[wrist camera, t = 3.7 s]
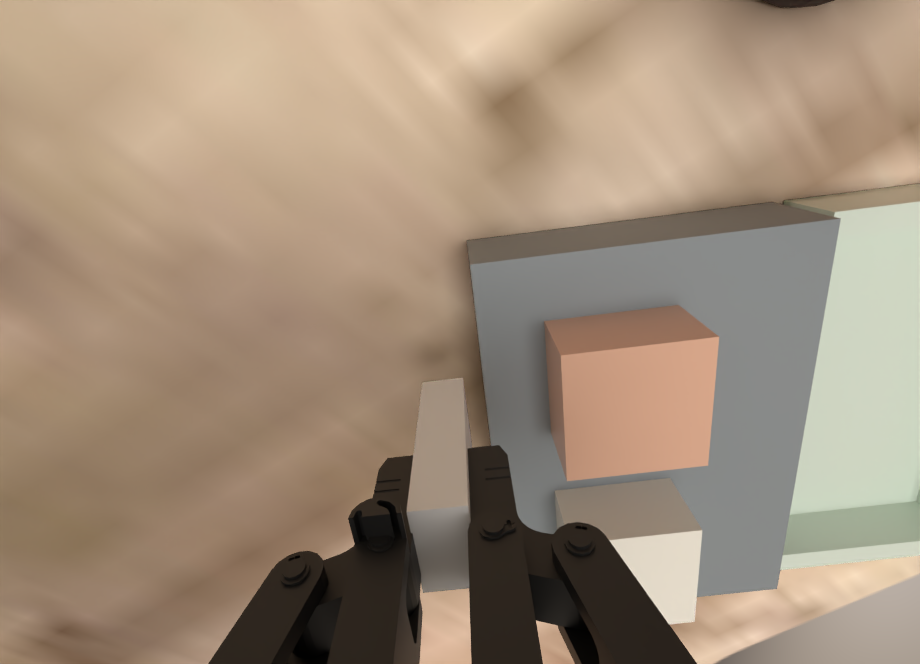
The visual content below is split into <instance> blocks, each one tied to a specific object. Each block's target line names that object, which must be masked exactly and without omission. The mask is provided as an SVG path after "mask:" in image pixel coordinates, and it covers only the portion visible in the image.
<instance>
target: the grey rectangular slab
mask: <svg viewBox="0 0 920 664" xmlns="http://www.w3.org/2000/svg"><path fill="white" fill-rule="evenodd" d="M840 221H841V218H837V217H833V216H828V215H824V214H820V213H816V212H812V211H807V210H803V209H799V208H795V207H791V206H786V205H782V204H778V203H774V202H768V203H761V204H753V205H745V206H737V207H729V208H721V209H713V210H705V211H697V212H689V213H681V214H673V215H665V216H658V217H650V218H642V219H634V220H626V221H618V222H610V223H602V224H594V225H586V226H578V227H570V228H562V229H554V230H547V231H539V232H531V233H523V234H515V235H507V236H499V237H491V238H483V239H475V240H467V248H468V257H469V265H470V274H471V282H472V291H473V299H474V307H475V316H476V324H477V333H478V341H479V350H480V358H481V367H482V375H483V383H484V392H485V400H486V409H487V417H488V426H489V434H490V443H491V446H495V445H500V447H501V448H502V449H503V450H504V451H505V452H506V453H507V455H508V461H509V467H510V473H511V479H512V485H513V491H514V497H515V503H516V510H517V514H518V517H519V518H520V520H521V521H522V523H524V524H525V525H526V526H527V527H529V528H531V529H533V530H535V531H539V532H542V533H548V534H554V533H555V532H556V530H557V522H556V506H555V491H556V490H565V489H574V488H583V487H592V486H601V485H610V484H620V483H629V482H638V481H647V480H656V479H665V478H670V479H671V481H672V482H673V484H674V485H675V487H676V489H677V490H678V492H679V493H680V495H681V497H682V498H683V500H684V501H685V503H686V505H687V506H688V508H689V509H690V511H691V513H692V514H693V516H694V517H695V519H696V521H697V522H698V524H699V525H700V527H701V529H702V541H701V553H700V564H699V576H698V587H697V597H702V596H711V595H721V594H731V593H740V592H750V591H760V590H769V589H777V585H778V579H779V574H780V568H781V562H782V556H783V550H784V545H785V539H786V533H787V527H788V522H789V516H790V510H791V504H792V498H793V493H794V487H795V481H796V475H797V469H798V464H799V458H800V452H801V446H802V441H803V435H804V429H805V423H806V417H807V412H808V406H809V400H810V394H811V388H812V383H813V377H814V371H815V365H816V360H817V354H818V348H819V342H820V336H821V331H822V325H823V319H824V313H825V307H826V302H827V296H828V290H829V284H830V278H831V273H832V267H833V261H834V255H835V250H836V244H837V238H838V232H839V226H840ZM674 305H679V306H681V307H682V308H683V309H685V310H686V311H687V312H688V313H690V314H691V315H692V316H693V317H695V318H696V319H697V320H699V321H700V322H701V323H702V324H704V325H705V326H706V327H707V328H709V329H710V330H711V331H713V332H714V333H715V334H716V335H718V336H719V345H718V357H717V368H716V380H715V391H714V403H713V414H712V426H711V438H710V449H709V461H708V466H700V467H691V468H682V469H673V470H664V471H655V472H646V473H637V474H628V475H619V476H610V477H601V478H592V479H583V480H574V481H567V480H566V477H565V474H564V471H563V468H562V465H561V462H560V459H559V456H558V453H557V450H556V447H555V444H554V441H553V438H552V435H551V424H550V408H549V392H548V376H547V359H546V343H545V327H544V321H550V320H558V319H566V318H574V317H583V316H591V315H599V314H607V313H616V312H624V311H632V310H641V309H649V308H657V307H665V306H674Z"/></svg>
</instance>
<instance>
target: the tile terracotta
mask: <svg viewBox="0 0 920 664" xmlns="http://www.w3.org/2000/svg"><path fill="white" fill-rule="evenodd" d="M544 327H545V343H546V359H547V376H548V392H549V408H550V424H551V435H552V438H553V441H554V444H555V447H556V450H557V453H558V456H559V459H560V462H561V465H562V468H563V471H564V474H565V477H566V480H567V481H574V480H583V479H592V478H601V477H610V476H619V475H628V474H637V473H646V472H655V471H664V470H673V469H682V468H691V467H700V466H708V461H709V449H710V438H711V426H712V414H713V403H714V391H715V380H716V368H717V357H718V345H719V336H718V335H716V334H715V333H714V332H713V331H711V330H710V329H709V328H707V327H706V326H705V325H704V324H702V323H701V322H700V321H699V320H697V319H696V318H695V317H693V316H692V315H691V314H690V313H688V312H687V311H686V310H685V309H683V308H682V307H681V306H679V305H674V306H665V307H657V308H649V309H641V310H632V311H624V312H616V313H607V314H599V315H591V316H583V317H574V318H566V319H558V320H550V321H544Z"/></svg>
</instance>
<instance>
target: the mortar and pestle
mask: <svg viewBox="0 0 920 664" xmlns="http://www.w3.org/2000/svg"><path fill="white" fill-rule="evenodd" d="M763 1H765V2H768V3H770V4H773V5H776V6H778V7H785V8H795V7H808V6H817V5H821V4H824V3H828V2H831V1H834V0H763Z"/></svg>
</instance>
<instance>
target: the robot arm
mask: <svg viewBox="0 0 920 664" xmlns="http://www.w3.org/2000/svg"><path fill="white" fill-rule="evenodd" d="M376 482H377V484H376V486H375V490H374V495H373V498H372V499H368V500H366V501H364V502H362V503H360V504H359V505H358V506H357V507H356V508H354V509H353V510H352V512H351V514H350V516H349V518H348V520H349V524H350V527H351V531H352V535H353V539H354V542H355V545H354V547H352V548H351V549H349V550H348V551H346V552H344V553H342V554H340V555H337V556H334V557H331V558H329V559H326V560H322V558H321V557H320V556H319V555H318V554H317V553H314V552H311V551H303V552H297V553H294V554H292V555H289V556H287V557H286V558H284V559H283V560H281V561H280V562H279V563H278V564H277V565H276V566H275V567H274V568H273V569H272V570H271V572H270V573H269V575H268V576H267V578H266V579H265V581H264V582H263V584H262V585H261V587H260V588H259V590H258V591H257V592H256V594H255V595H254V597H253V598H252V600H251V601H250V603H249V604H248V606H247V607H246V609H245V610H244V612H243V613H242V615H241V616H240V618H239V619H238V621H237V622H236V624H235V625H234V627H233V628H232V629H231V631H230V632H229V634H228V635H227V637H226V638H225V640H224V641H223V643H222V644H221V646H220V647H219V649H218V650H217V652H216V653H215V655H214V656H213V658H212V659H211V661H210V662H209V664H419V661H420V645H421V628H422V606H421V601H420V584H421V585H422V589H423V593H424V592H435V591H445V590H455V589H465V588H469V592H470V624H471V656H472V664H543V662H542V656H541V650H540V643H539V637H538V631H537V625H536V620H537V621H541V622H546V623H550V624H555V625H558V628H559V631H560V633H561V635H562V637H563V639H564V641H565V643H566V646H567V648H568V650H569V652H570V654H571V656H572V658H573V660H574V662H575V664H697V663H696V662H695V660H694V659H693V657H692V656H691V655H690V653H689V652H688V650H687V649H686V648H685V646H684V645H683V643H682V642H681V641H680V639H679V638H678V636H677V635H676V634H675V632H674V631H673V629H672V628H671V627H670V625H669V624H668V622H667V621H666V619H665V618H664V617H663V615H662V614H661V612H660V611H659V610H658V608H657V607H656V605H655V604H654V603H653V601H652V600H651V598H650V597H649V596H648V594H647V593H646V591H645V590H644V589H643V587H642V586H641V584H640V583H639V582H638V580H637V579H636V577H635V576H634V575H633V573H632V572H631V570H630V569H629V568H628V566H627V565H626V563H625V562H624V560H623V559H622V558H621V556H620V555H619V553H618V552H617V551H616V549H615V548H614V546H613V545H612V544H611V542H610V541H609V539H608V538H607V537H606V535H605V534H604V533H603V532H602V531H601V530H600V529H598V528H597V527H594V526H592V525H590V524H587V523H581V522H574V523H567V524H565V525H563V526H561V527H559V528H558V529H557V530H556V532H555V533H554V534H548V533H542V532H539V531H535V530H533V529H531V528H529V527H527V526H526V525H525V524H524V523H522V521H521V520H520V518H519V517H518V514H517V510H516V503H515V497H514V491H513V485H512V479H511V473H510V467H509V461H508V455H507V453H506V452H505V451H504V450H503V449H502V448H501V447H500V445H495V446H486V447H477V448H472V442H471V433H470V426H469V418H468V411H467V403H466V396H465V388H464V381H463V378H454V379H445V380H437V381H428V382H422V388H421V396H420V404H419V413H418V421H417V429H416V437H415V446H414V454H413V456H403V457H394V458H388V459H387V460H386V461H385V462H384V464H383V465H382V466H381V468H380V469H379V472H378V476H377V481H376Z"/></svg>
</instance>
